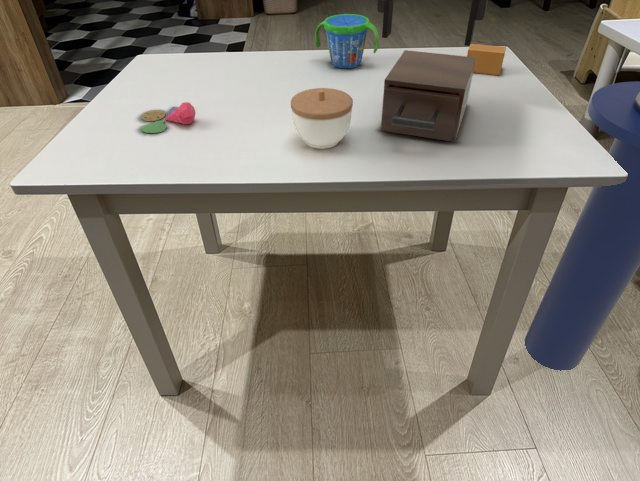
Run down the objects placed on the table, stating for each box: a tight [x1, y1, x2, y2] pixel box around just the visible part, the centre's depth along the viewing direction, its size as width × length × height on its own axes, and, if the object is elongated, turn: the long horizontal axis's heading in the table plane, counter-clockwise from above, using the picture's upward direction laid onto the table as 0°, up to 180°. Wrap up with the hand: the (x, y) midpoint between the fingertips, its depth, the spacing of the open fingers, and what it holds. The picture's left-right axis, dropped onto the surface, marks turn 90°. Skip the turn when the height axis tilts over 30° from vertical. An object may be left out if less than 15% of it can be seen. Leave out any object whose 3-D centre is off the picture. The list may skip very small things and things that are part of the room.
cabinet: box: [380, 49, 476, 143], centre depth 86 cm, size 16×14×10 cm
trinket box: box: [290, 87, 354, 150], centre depth 80 cm, size 11×11×9 cm
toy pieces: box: [140, 101, 196, 134], centre depth 89 cm, size 12×11×4 cm
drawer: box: [382, 86, 460, 142], centre depth 82 cm, size 20×13×8 cm, turn 159°
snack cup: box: [314, 13, 380, 69], centre depth 109 cm, size 16×10×10 cm
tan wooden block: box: [466, 43, 507, 76], centre depth 106 cm, size 8×4×5 cm, turn 69°
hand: (426, 39), depth 69 cm, fingers open, 12 cm apart
